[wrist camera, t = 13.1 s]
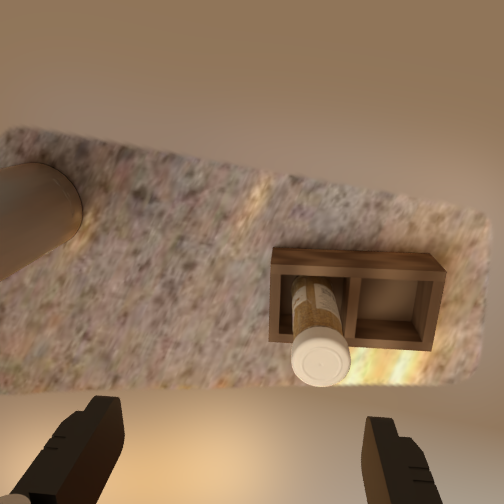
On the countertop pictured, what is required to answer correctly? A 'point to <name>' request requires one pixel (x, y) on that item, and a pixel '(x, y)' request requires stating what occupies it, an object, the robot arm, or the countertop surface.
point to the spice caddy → (364, 295)
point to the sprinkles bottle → (317, 333)
